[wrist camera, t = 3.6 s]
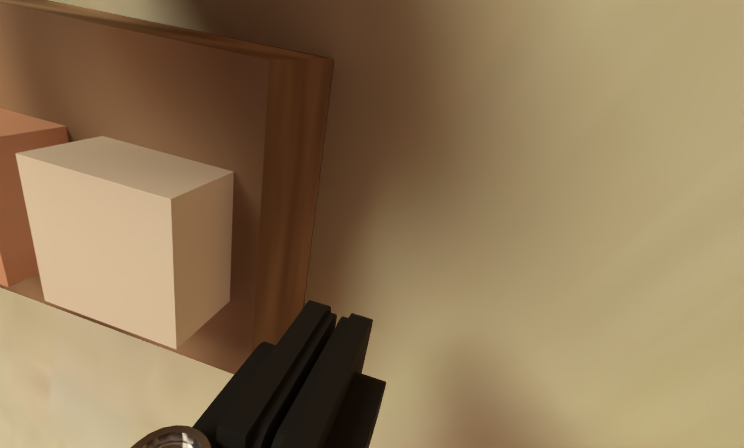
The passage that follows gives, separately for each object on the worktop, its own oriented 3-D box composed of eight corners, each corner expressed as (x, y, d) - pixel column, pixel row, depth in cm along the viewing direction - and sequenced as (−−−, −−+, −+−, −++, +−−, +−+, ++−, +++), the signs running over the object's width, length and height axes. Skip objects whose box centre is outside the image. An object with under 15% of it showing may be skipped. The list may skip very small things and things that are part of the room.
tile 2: (233, 171, 13) (170, 199, 10) (229, 300, 15) (176, 349, 12) (102, 135, 14) (15, 153, 11) (115, 262, 16) (44, 300, 13)
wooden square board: (333, 59, 16) (269, 60, 11) (302, 310, 21) (249, 380, 16) (41, -1, 18) (-106, -20, 14) (77, 236, 23) (-23, 278, 19)
